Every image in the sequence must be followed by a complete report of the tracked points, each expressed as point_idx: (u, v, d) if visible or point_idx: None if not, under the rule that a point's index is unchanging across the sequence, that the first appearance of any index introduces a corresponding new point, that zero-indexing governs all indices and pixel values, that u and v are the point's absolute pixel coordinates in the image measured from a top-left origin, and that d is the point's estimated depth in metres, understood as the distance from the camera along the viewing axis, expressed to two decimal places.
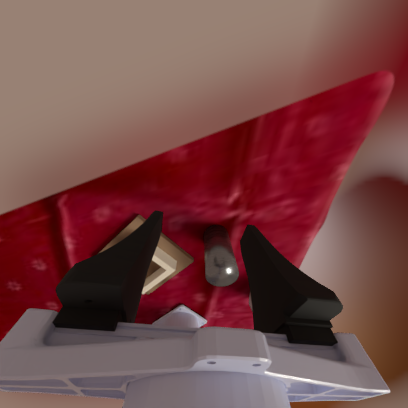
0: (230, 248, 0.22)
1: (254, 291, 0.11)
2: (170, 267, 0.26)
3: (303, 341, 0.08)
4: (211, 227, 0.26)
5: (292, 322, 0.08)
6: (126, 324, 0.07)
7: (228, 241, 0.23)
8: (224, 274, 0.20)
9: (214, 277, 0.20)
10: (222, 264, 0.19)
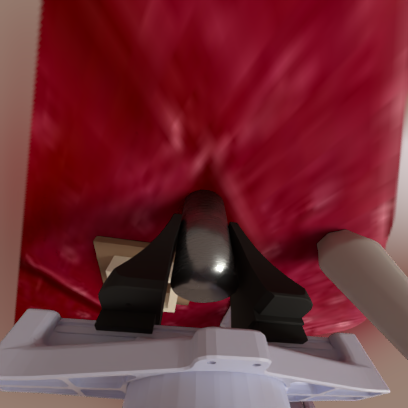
0: (209, 225, 0.11)
1: None
2: None
3: (272, 339, 0.07)
4: (185, 201, 0.15)
5: (262, 319, 0.08)
6: (162, 327, 0.07)
7: (208, 212, 0.12)
8: (209, 283, 0.09)
9: (195, 293, 0.10)
10: (184, 271, 0.09)
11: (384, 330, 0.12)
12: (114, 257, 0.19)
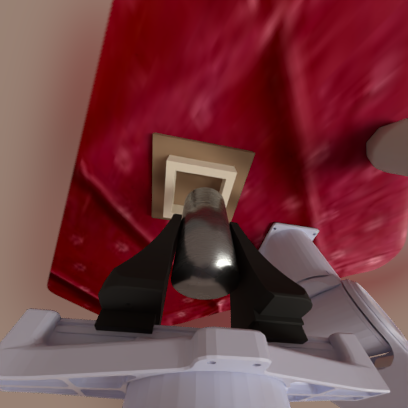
0: (212, 221, 0.11)
1: None
2: (228, 172, 0.19)
3: (272, 339, 0.07)
4: (186, 197, 0.15)
5: (262, 319, 0.08)
6: (162, 327, 0.07)
7: (211, 209, 0.12)
8: (210, 279, 0.09)
9: (195, 289, 0.10)
10: (188, 265, 0.09)
11: None
12: (170, 155, 0.19)
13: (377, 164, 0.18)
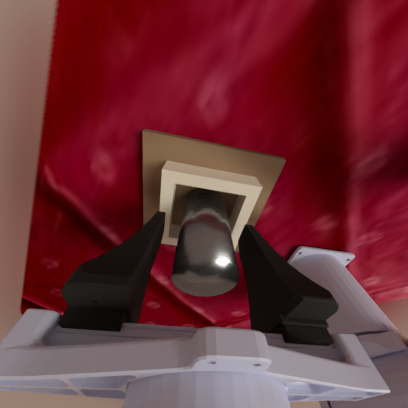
0: (212, 220, 0.11)
1: (251, 291, 0.11)
2: (250, 186, 0.13)
3: (299, 341, 0.08)
4: (187, 196, 0.15)
5: (288, 321, 0.08)
6: (131, 324, 0.07)
7: (211, 208, 0.12)
8: (210, 277, 0.10)
9: (195, 287, 0.10)
10: (188, 263, 0.09)
11: None
12: (167, 161, 0.14)
13: None
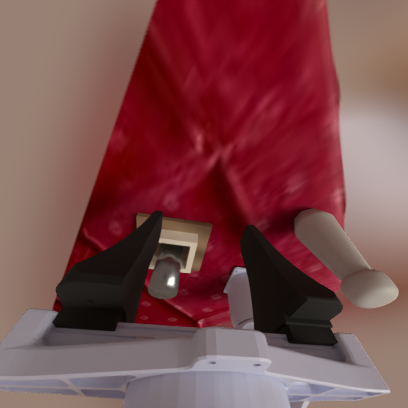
0: (169, 263, 0.24)
1: (254, 291, 0.11)
2: (191, 242, 0.26)
3: (303, 341, 0.08)
4: (161, 243, 0.28)
5: (292, 322, 0.08)
6: (126, 324, 0.07)
7: (170, 254, 0.25)
8: (164, 290, 0.22)
9: (159, 294, 0.23)
10: (154, 285, 0.21)
11: (328, 265, 0.20)
12: None
13: (298, 238, 0.25)
